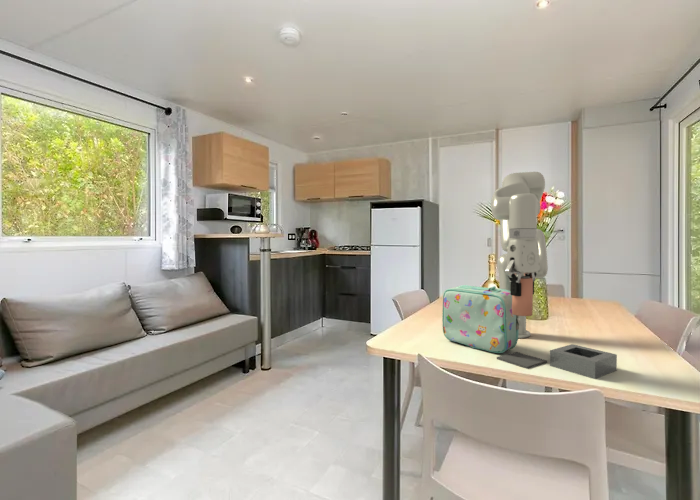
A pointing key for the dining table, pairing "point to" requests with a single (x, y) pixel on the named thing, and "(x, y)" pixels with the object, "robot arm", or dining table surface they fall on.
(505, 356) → the mat
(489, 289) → the lunch box
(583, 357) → the housing
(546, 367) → the dining table surface
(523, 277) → the orange cylinder
